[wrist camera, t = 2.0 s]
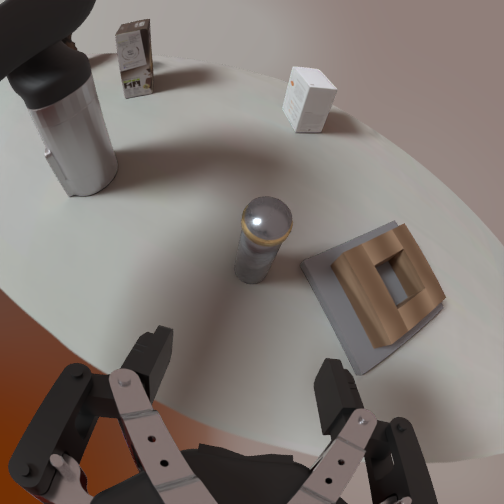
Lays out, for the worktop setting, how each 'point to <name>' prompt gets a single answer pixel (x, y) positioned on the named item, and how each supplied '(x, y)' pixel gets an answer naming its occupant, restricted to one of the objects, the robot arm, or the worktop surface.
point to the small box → (308, 99)
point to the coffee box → (135, 58)
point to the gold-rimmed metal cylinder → (261, 237)
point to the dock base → (342, 310)
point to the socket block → (375, 292)
